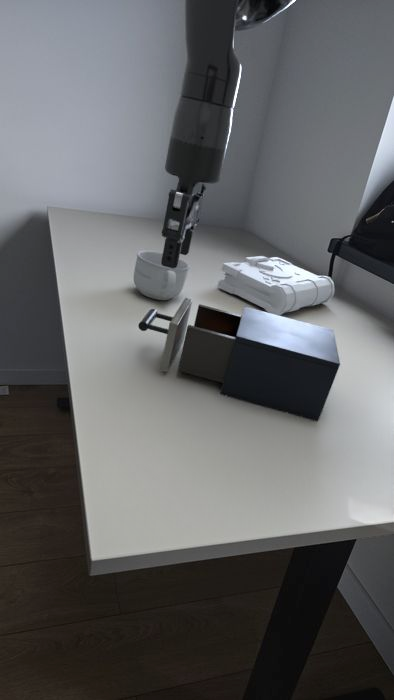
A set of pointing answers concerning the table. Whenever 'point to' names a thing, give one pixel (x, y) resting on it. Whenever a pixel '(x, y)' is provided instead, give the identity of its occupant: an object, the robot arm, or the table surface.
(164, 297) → the teacup
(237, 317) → the drawer
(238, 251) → the table surface
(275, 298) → the book
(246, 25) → the robot arm
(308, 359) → the cabinet
